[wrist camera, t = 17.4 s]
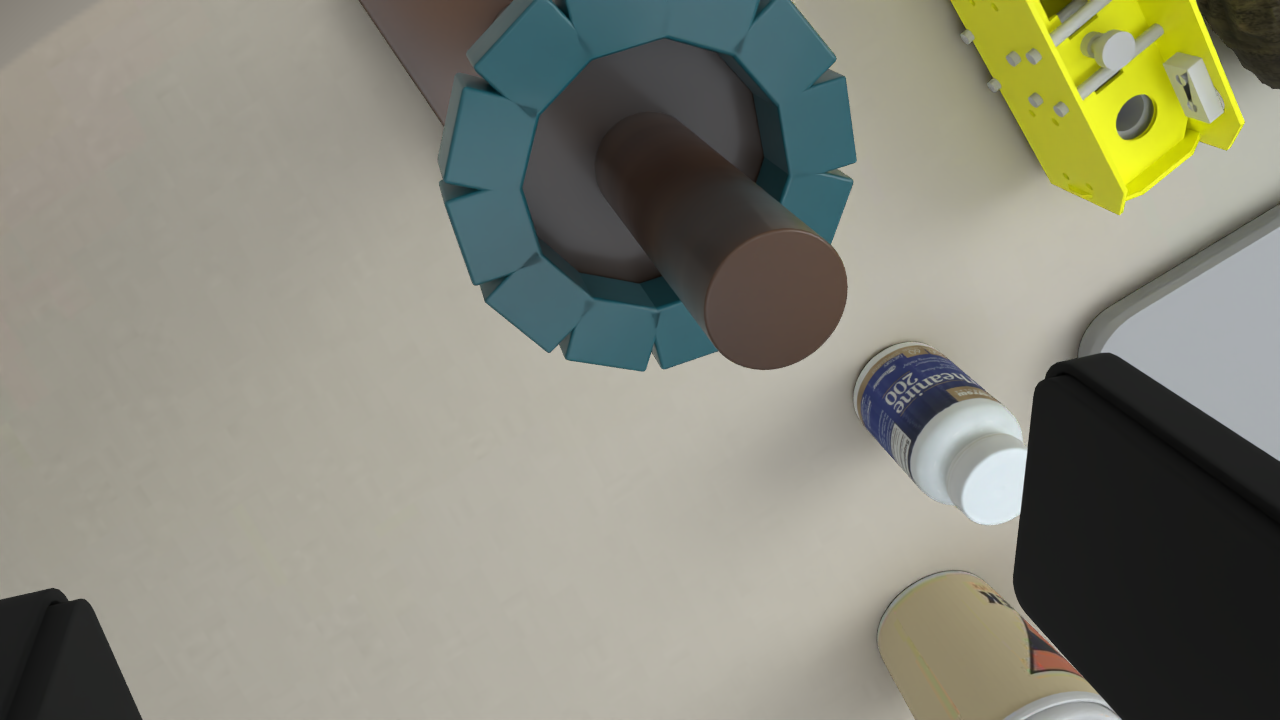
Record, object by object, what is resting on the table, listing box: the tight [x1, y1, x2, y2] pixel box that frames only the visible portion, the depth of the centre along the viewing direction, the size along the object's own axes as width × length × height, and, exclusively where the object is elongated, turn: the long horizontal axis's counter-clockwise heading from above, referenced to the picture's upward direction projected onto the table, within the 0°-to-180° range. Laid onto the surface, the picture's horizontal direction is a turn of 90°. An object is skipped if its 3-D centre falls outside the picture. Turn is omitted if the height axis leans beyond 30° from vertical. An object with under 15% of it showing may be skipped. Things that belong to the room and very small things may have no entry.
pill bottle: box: [853, 342, 1028, 525], centre depth 48 cm, size 5×5×10 cm
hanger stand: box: [359, 0, 848, 370], centre depth 28 cm, size 9×9×28 cm
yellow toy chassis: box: [950, 0, 1245, 215], centre depth 41 cm, size 16×6×8 cm, turn 38°
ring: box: [438, 0, 857, 372], centre depth 22 cm, size 9×9×2 cm
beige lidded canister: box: [877, 571, 1122, 720], centre depth 56 cm, size 9×9×12 cm
